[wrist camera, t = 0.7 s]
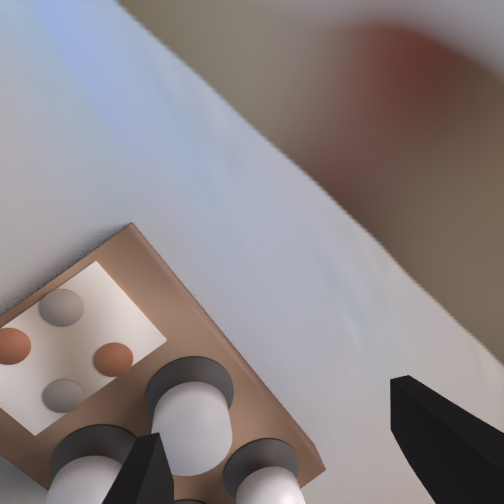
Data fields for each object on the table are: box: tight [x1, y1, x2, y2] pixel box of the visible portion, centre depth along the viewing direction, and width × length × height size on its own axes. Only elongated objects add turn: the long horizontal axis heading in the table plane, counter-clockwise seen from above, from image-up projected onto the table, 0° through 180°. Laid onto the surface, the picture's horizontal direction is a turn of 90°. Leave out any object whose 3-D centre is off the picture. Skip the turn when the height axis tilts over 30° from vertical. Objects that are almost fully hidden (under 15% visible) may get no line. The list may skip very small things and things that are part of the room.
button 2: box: [151, 382, 232, 476], centre depth 15 cm, size 4×4×2 cm
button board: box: [0, 222, 326, 504], centre depth 19 cm, size 12×19×2 cm, turn 34°
